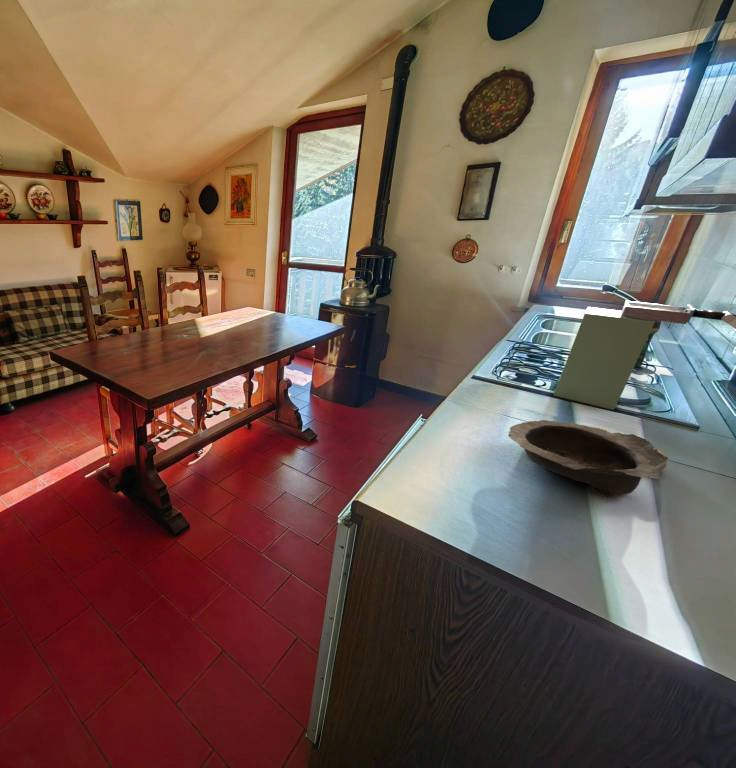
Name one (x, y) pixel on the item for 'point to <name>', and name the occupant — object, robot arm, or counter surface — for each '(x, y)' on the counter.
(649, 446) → the stone bowl
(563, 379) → the sage green block
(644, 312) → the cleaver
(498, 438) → the counter surface
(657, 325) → the coffee jar
